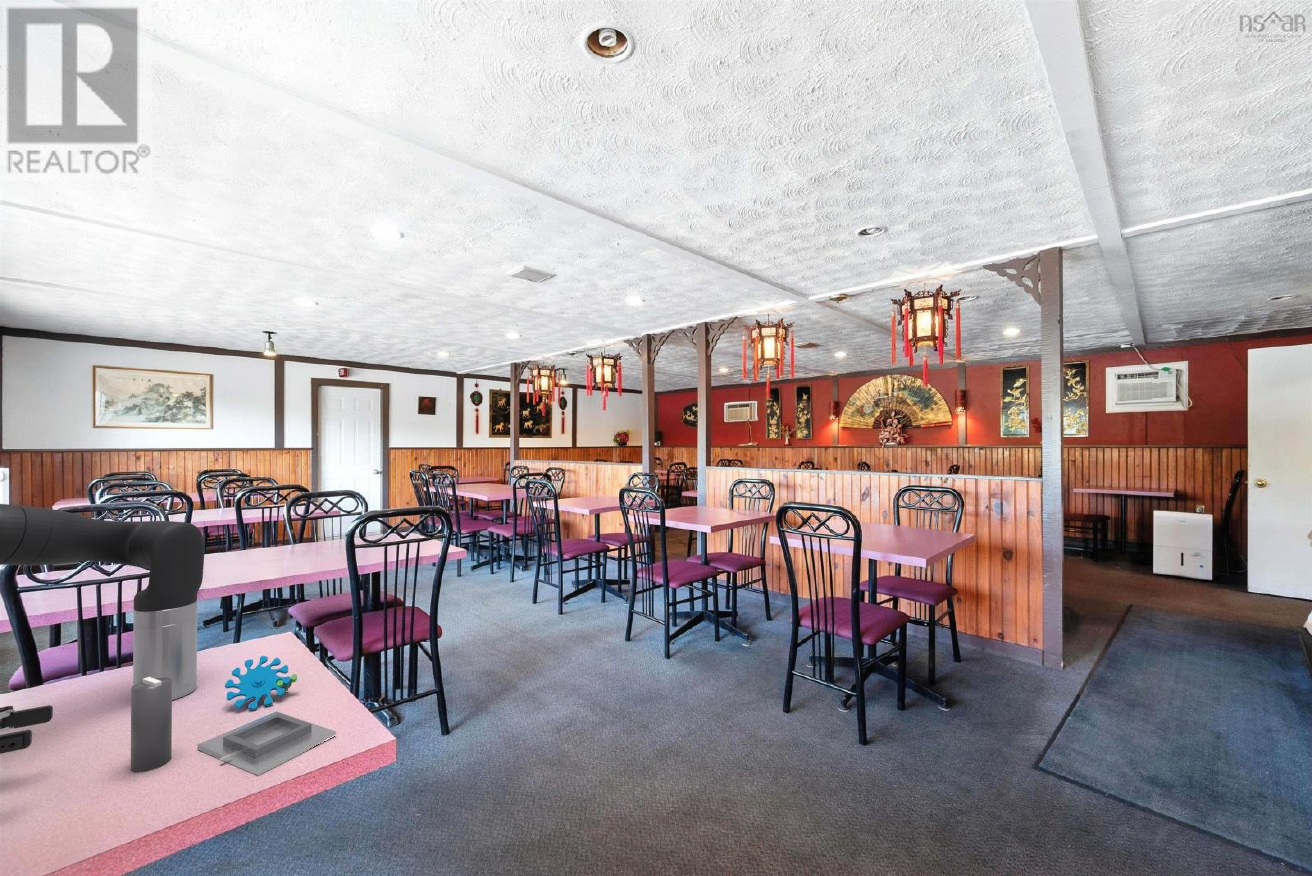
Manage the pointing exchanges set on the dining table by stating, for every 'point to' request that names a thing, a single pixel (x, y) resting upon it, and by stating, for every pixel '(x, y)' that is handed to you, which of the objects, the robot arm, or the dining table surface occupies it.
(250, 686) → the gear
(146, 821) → the dining table surface
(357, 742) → the dining table surface
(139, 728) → the grey peg
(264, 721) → the grey peg base plate
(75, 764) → the dining table surface
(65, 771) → the dining table surface
